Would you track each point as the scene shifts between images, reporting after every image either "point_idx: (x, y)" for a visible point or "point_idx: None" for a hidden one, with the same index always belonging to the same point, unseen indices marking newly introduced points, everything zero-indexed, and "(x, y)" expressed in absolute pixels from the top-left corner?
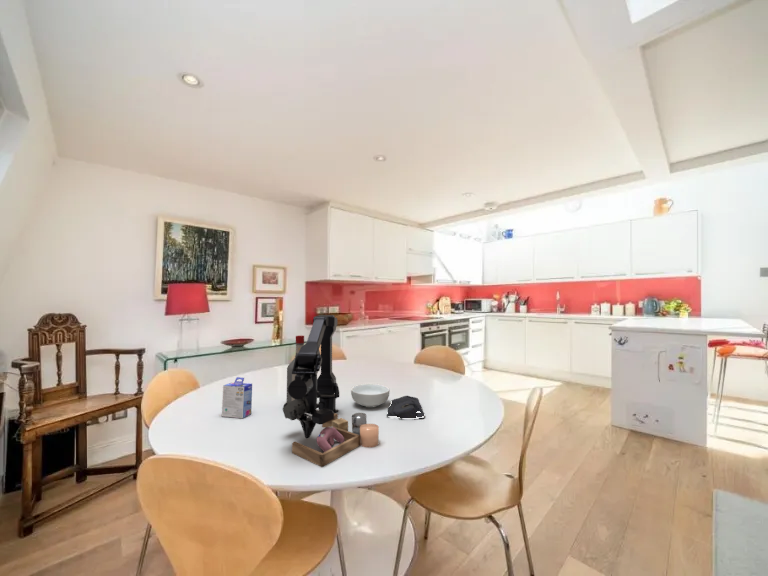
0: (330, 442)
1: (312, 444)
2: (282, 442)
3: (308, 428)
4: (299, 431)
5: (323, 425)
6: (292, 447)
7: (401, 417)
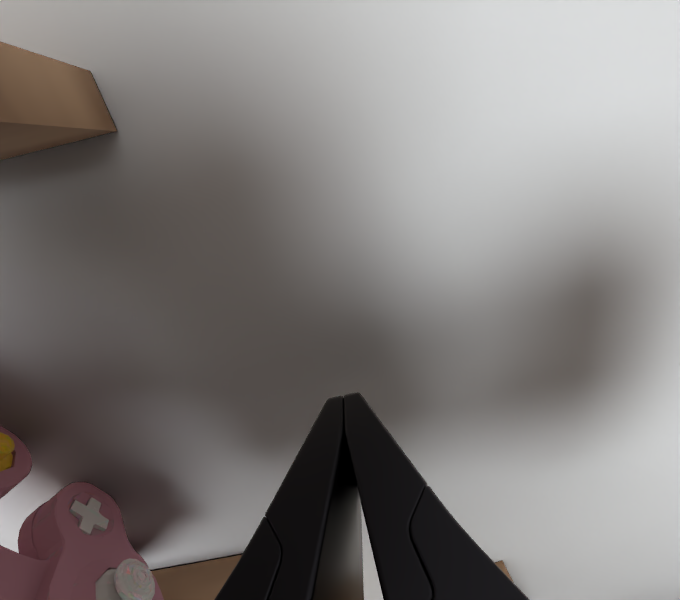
0: (23, 523)
1: (215, 386)
2: (538, 116)
3: (253, 551)
4: (609, 408)
5: None
6: (7, 49)
7: None
